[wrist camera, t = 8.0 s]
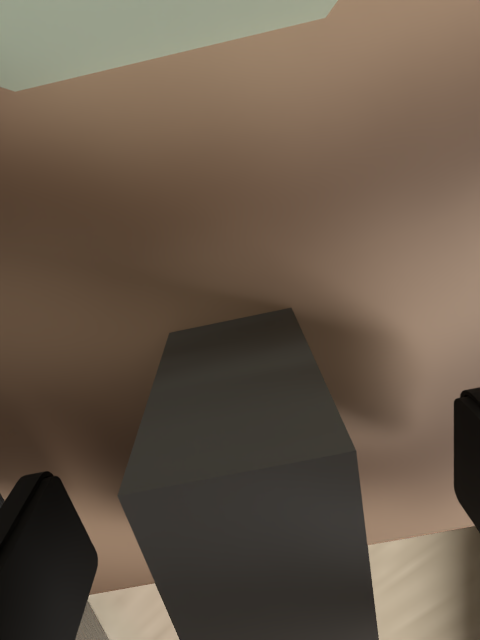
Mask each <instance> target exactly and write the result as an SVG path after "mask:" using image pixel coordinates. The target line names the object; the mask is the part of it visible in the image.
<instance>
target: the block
mask: <svg viewBox="0 0 480 640" xmlns="http://www.w3.org/2000/svg"><path fill="white" fill-rule="evenodd" d="M337 1H338V0H0V87H2V88H5V89H8V90H12V91H15V92H16V91H20V90H24V89H29V88H33V87H37V86H41V85H45V84H50V83H54V82H58V81H62V80H66V79H71V78H75V77H79V76H83V75H87V74H92V73H96V72H100V71H104V70H108V69H113V68H117V67H121V66H125V65H129V64H134V63H138V62H142V61H146V60H150V59H155V58H159V57H163V56H167V55H171V54H176V53H180V52H184V51H188V50H192V49H197V48H201V47H205V46H209V45H213V44H218V43H222V42H226V41H230V40H234V39H239V38H243V37H247V36H251V35H255V34H260V33H264V32H268V31H272V30H276V29H281V28H285V27H289V26H293V25H297V24H302V23H306V22H310V21H314V20H318V19H323V18H326V16H327V15H328V14H329V12H330V11H331V9H332V8H333V6H334V5H335V4H336V2H337Z"/></svg>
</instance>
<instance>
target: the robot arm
mask: <svg viewBox="0 0 480 640" xmlns="http://www.w3.org/2000/svg"><path fill="white" fill-rule="evenodd" d="M454 491H455V494H456V497H457V499H458V501H459V503H460V505H461V506H462V507H463V509H464V510H465V512H466V513H467V515H468V516H469V518H470V519H471V521H472V522H473V524H474V525H475V526H476V528H477V529H478V531H479V532H480V387H478V388H473V389H468V390H464V391H462V392H461V394H460V398H457V399H455V401H454ZM97 567H98V555H97V552H96V550H95V548H94V546H93V544H92V542H91V539H90V537H89V535H88V533H87V531H86V529H85V527H84V525H83V523H82V521H81V519H80V517H79V515H78V513H77V511H76V509H75V507H74V505H73V503H72V501H71V499H70V497H69V495H68V493H67V491H66V489H65V487H64V485H63V483H62V481H61V479H60V478H59V477H58V476H53V474H52V473H51V472H49V471H44V472H39V473H34V474H29V475H24V476H22V477H21V478H20V479H19V480H18V481H17V483H16V484H15V486H14V487H13V489H12V491H11V492H10V494H9V495H8V497H7V498H6V500H5V501H4V503H3V505H2V506H1V508H0V640H75V639H76V635H77V632H78V629H79V626H80V623H81V619H82V616H83V613H84V610H85V606H86V603H87V600H88V597H89V594H90V590H91V587H92V584H93V581H94V578H95V574H96V571H97Z"/></svg>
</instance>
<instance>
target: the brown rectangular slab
mask: <svg viewBox="0 0 480 640" xmlns="http://www.w3.org/2000/svg"><path fill="white" fill-rule="evenodd" d="M478 387H480V0H338V1H337V2H336V4H335V5H334V6H333V8H332V9H331V11H330V12H329V14H328V15H327V16H326V18H323V19H318V20H314V21H310V22H306V23H302V24H297V25H293V26H289V27H285V28H281V29H276V30H272V31H268V32H264V33H260V34H255V35H251V36H247V37H243V38H239V39H234V40H230V41H226V42H222V43H218V44H213V45H209V46H205V47H201V48H197V49H192V50H188V51H184V52H180V53H176V54H171V55H167V56H163V57H159V58H155V59H150V60H146V61H142V62H138V63H134V64H129V65H125V66H121V67H117V68H113V69H108V70H104V71H100V72H96V73H92V74H87V75H83V76H79V77H75V78H71V79H66V80H62V81H58V82H54V83H50V84H45V85H41V86H37V87H33V88H29V89H24V90H20V91H16V92H15V91H12V90H8V89H5V88H2V87H0V494H1V496H2V497H3V499H4V501H5V500H6V498H7V497H8V495H9V494H10V492H11V491H12V489H13V487H14V486H15V484H16V483H17V481H18V480H19V479H20V478H21V477H22V476H24V475H29V474H34V473H39V472H44V471H49V472H51V473H52V474H53V476H58V477H59V478H60V479H61V481H62V483H63V485H64V487H65V489H66V491H67V493H68V495H69V497H70V499H71V501H72V503H73V505H74V507H75V509H76V511H77V513H78V515H79V517H80V519H81V521H82V523H83V525H84V527H85V529H86V531H87V533H88V535H89V537H90V539H91V542H92V544H93V546H94V548H95V550H96V552H97V555H98V567H97V571H96V574H95V578H94V581H93V584H92V587H91V590H90V594H89V595H91V594H97V593H102V592H108V591H114V590H119V589H125V588H130V587H136V586H142V585H147V584H153V583H155V584H156V586H157V589H158V591H159V593H160V595H161V598H162V600H163V602H164V605H165V607H166V609H167V612H168V614H169V616H170V618H171V621H172V623H173V625H174V628H175V630H176V632H177V635H178V637H179V639H180V640H379V638H378V630H377V621H376V613H375V604H374V596H373V587H372V579H371V571H370V562H369V554H368V545H371V544H377V543H383V542H388V541H394V540H399V539H405V538H411V537H416V536H422V535H428V534H433V533H439V532H444V531H450V530H456V529H461V528H467V527H472V526H475V525H474V524H473V522H472V521H471V519H470V518H469V516H468V515H467V513H466V512H465V510H464V509H463V507H462V506H461V505H460V503H459V501H458V499H457V497H456V494H455V491H454V401H455V399H457V398H460V394H461V392H462V391H464V390H468V389H473V388H478Z"/></svg>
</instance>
